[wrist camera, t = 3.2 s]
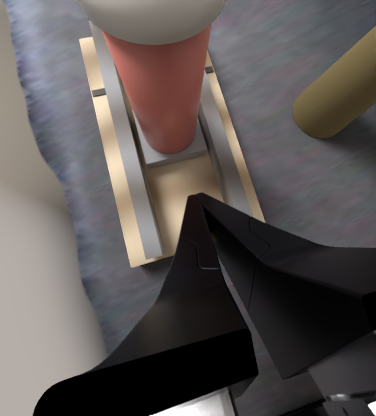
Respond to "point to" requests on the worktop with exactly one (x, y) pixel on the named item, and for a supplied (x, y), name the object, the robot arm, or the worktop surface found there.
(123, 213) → the plug rig
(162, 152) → the red plug
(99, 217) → the worktop surface
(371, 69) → the cork
